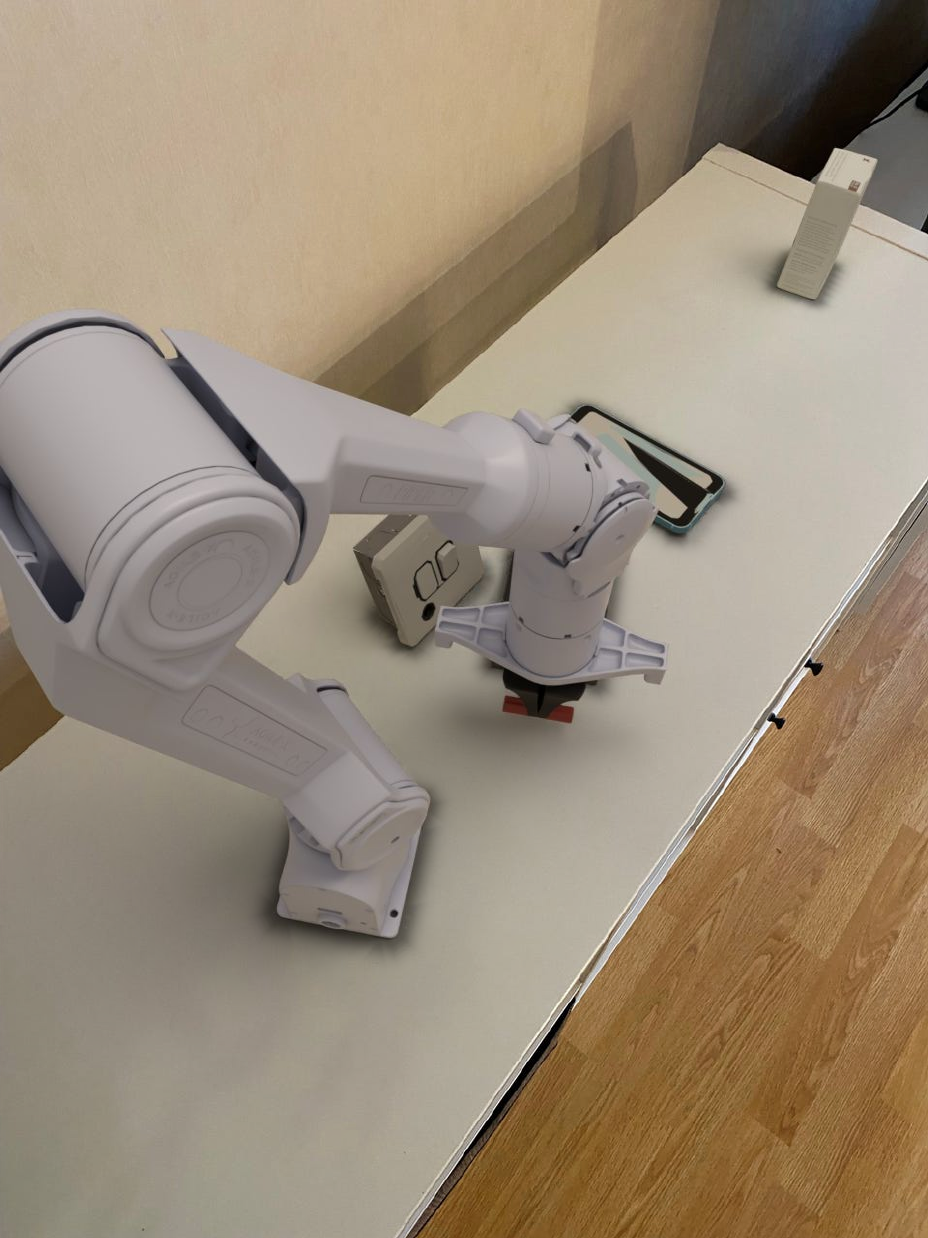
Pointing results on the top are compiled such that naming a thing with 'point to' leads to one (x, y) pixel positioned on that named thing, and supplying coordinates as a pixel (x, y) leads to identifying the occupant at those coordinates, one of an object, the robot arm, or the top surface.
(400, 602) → the electrical switch
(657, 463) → the smartphone
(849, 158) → the cosmetic box
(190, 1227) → the top surface
